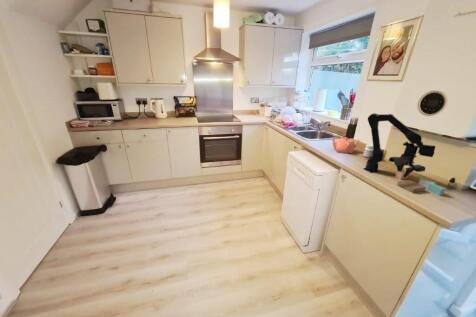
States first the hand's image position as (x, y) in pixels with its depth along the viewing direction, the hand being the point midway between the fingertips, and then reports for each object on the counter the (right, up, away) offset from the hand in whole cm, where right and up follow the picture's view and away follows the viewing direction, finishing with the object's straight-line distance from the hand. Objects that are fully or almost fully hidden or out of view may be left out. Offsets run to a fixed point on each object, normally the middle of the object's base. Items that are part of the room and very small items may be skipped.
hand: (401, 176), depth 130 cm
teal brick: (+5, -8, -17) cm, 19 cm away
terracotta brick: (0, -1, 0) cm, 1 cm away
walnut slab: (-5, -6, -13) cm, 15 cm away
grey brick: (+5, -6, -11) cm, 13 cm away
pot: (-12, +18, +51) cm, 55 cm away
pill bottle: (-2, +11, +33) cm, 35 cm away
